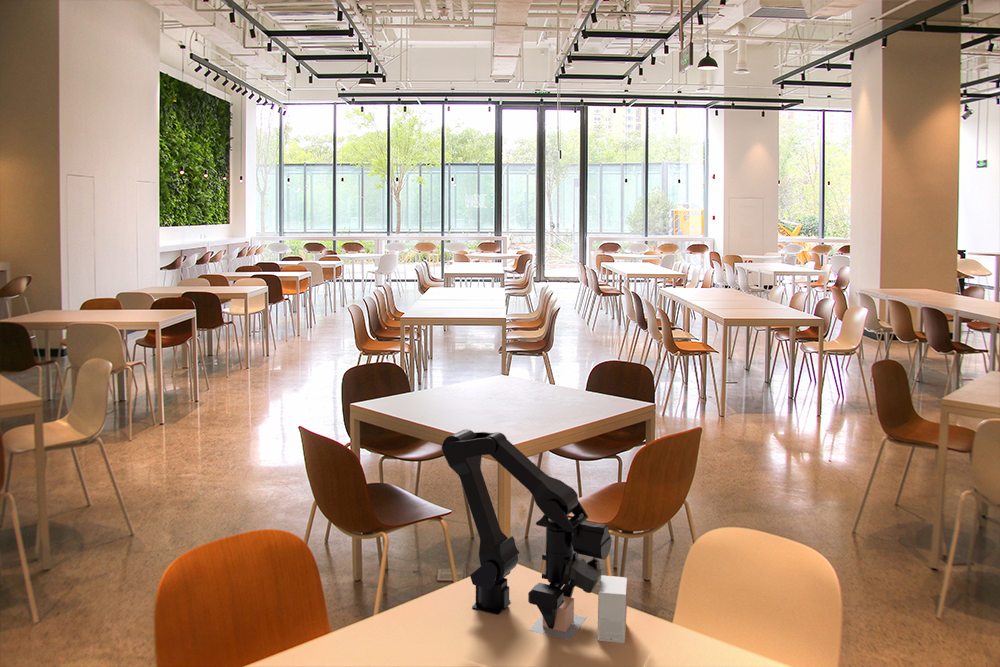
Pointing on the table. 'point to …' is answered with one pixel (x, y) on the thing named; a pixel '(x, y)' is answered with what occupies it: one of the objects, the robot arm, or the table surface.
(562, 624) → the block
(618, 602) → the small box
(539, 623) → the tile
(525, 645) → the table surface
